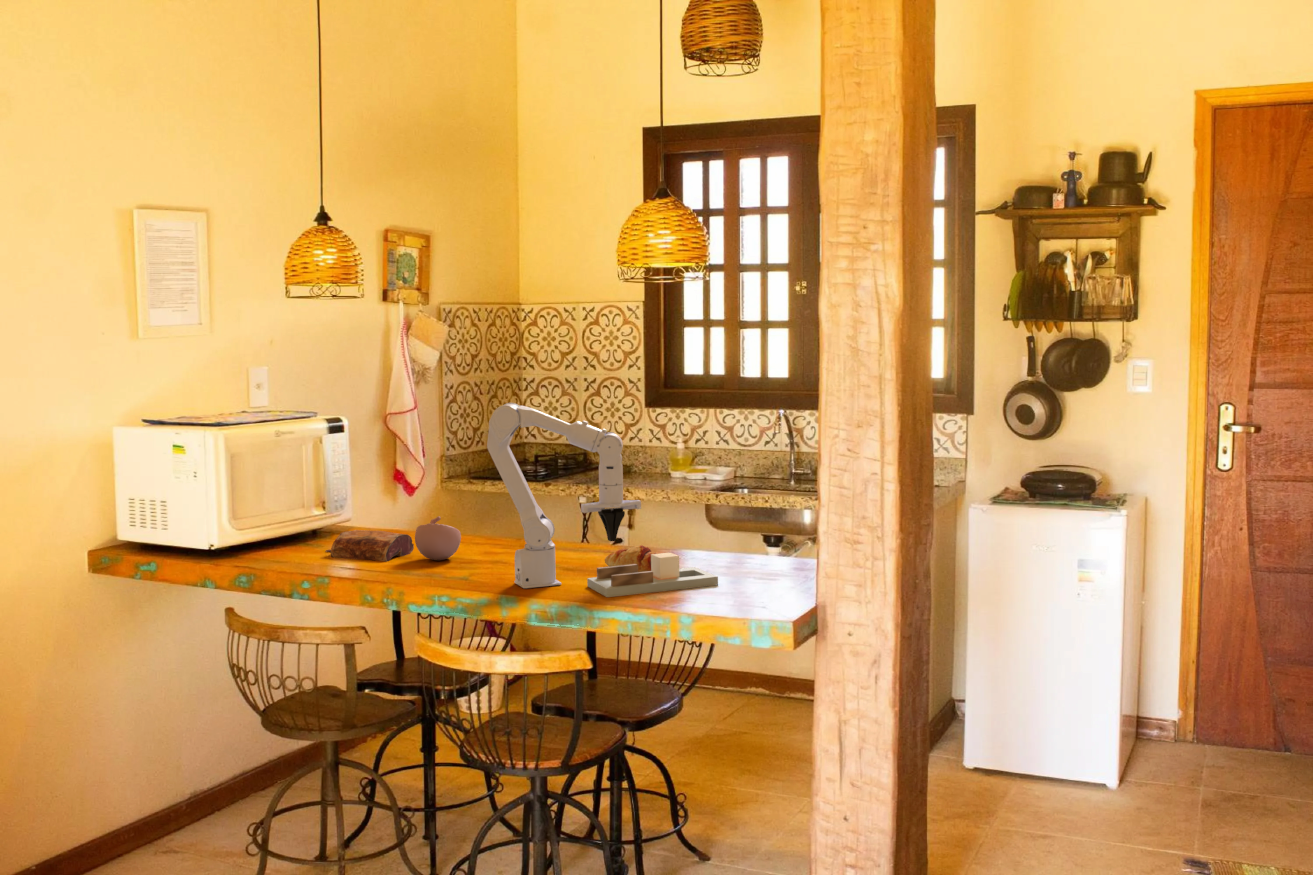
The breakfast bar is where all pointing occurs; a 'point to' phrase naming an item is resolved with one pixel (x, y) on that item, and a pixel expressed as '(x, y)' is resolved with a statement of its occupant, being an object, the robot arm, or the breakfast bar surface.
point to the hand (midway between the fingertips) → (611, 540)
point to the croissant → (631, 558)
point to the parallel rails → (624, 575)
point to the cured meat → (371, 545)
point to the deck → (656, 583)
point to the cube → (665, 565)
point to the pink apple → (437, 540)
